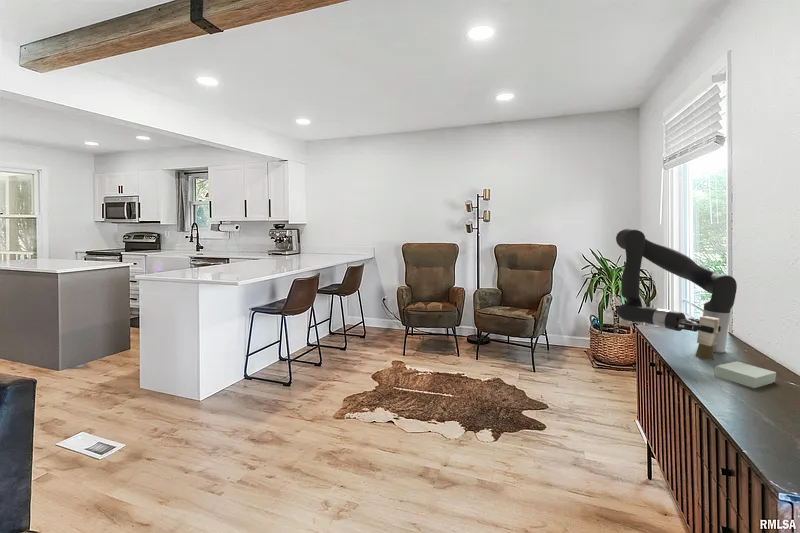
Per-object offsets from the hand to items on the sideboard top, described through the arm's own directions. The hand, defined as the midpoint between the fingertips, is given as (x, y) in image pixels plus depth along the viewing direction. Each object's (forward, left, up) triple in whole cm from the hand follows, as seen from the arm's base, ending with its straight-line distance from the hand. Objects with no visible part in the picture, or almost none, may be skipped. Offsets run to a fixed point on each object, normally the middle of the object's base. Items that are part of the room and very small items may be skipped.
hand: (716, 329), depth 155 cm
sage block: (0, +10, -16) cm, 19 cm away
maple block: (0, -3, -6) cm, 7 cm away
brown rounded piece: (-14, -9, -15) cm, 22 cm away
